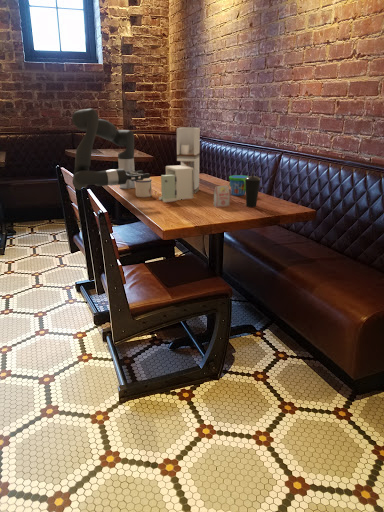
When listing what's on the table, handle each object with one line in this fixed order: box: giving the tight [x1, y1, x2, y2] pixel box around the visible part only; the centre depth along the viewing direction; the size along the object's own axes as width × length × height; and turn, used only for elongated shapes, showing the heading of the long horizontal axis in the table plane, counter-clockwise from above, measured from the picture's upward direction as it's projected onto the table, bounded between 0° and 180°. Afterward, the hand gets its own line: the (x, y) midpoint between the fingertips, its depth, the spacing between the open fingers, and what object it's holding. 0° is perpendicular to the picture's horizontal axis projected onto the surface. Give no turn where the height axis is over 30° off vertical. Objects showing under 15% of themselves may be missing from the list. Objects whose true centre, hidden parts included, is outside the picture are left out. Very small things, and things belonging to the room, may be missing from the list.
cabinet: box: [158, 164, 194, 203], centre depth 214 cm, size 15×18×16 cm
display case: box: [176, 127, 201, 194], centre depth 229 cm, size 11×11×35 cm
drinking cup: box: [245, 165, 261, 208], centre depth 197 cm, size 8×8×20 cm
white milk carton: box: [213, 185, 230, 208], centre depth 198 cm, size 4×7×10 cm, turn 108°
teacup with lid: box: [135, 176, 153, 198], centre depth 221 cm, size 12×9×12 cm
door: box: [160, 174, 175, 202], centre depth 209 cm, size 5×6×13 cm
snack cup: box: [228, 174, 249, 196], centre depth 224 cm, size 16×10×10 cm
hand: (146, 174), depth 202 cm, fingers open, 8 cm apart
